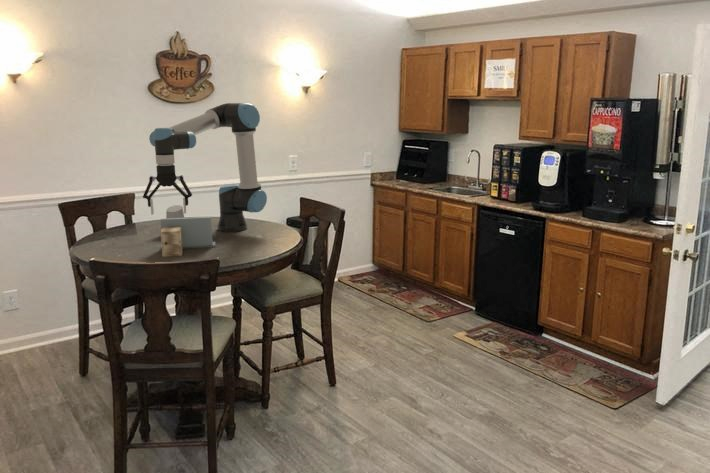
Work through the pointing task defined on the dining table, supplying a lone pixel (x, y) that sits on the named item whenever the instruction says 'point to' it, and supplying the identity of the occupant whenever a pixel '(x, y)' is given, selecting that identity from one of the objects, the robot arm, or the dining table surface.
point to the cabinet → (171, 241)
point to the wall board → (192, 231)
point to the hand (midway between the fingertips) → (169, 213)
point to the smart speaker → (175, 212)
